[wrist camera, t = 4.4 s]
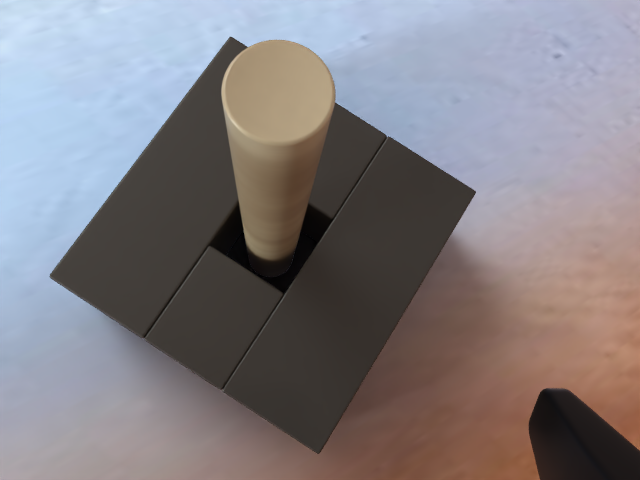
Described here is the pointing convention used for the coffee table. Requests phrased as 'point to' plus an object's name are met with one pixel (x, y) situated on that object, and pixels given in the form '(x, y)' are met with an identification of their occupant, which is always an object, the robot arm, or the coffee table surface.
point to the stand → (247, 288)
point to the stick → (275, 143)
